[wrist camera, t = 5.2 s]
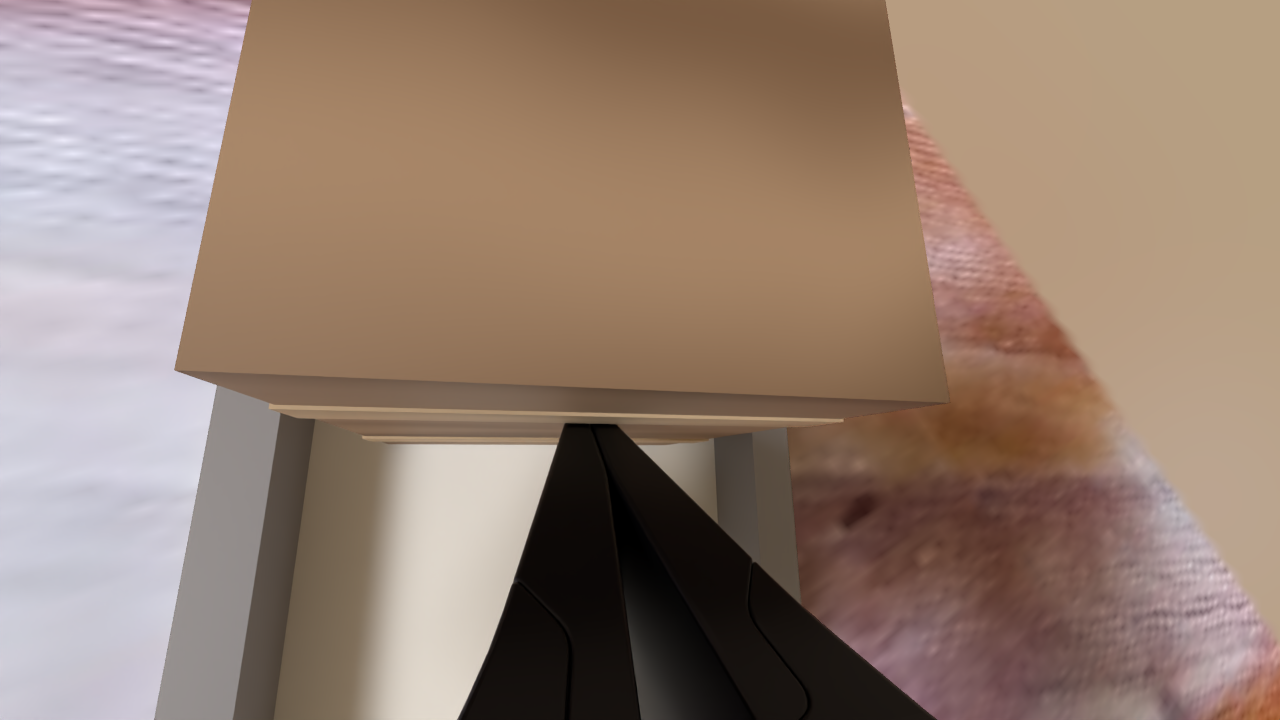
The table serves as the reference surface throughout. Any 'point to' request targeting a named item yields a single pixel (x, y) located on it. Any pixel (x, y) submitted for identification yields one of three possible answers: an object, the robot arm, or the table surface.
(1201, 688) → the table surface
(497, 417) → the block
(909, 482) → the table surface
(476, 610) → the bay
